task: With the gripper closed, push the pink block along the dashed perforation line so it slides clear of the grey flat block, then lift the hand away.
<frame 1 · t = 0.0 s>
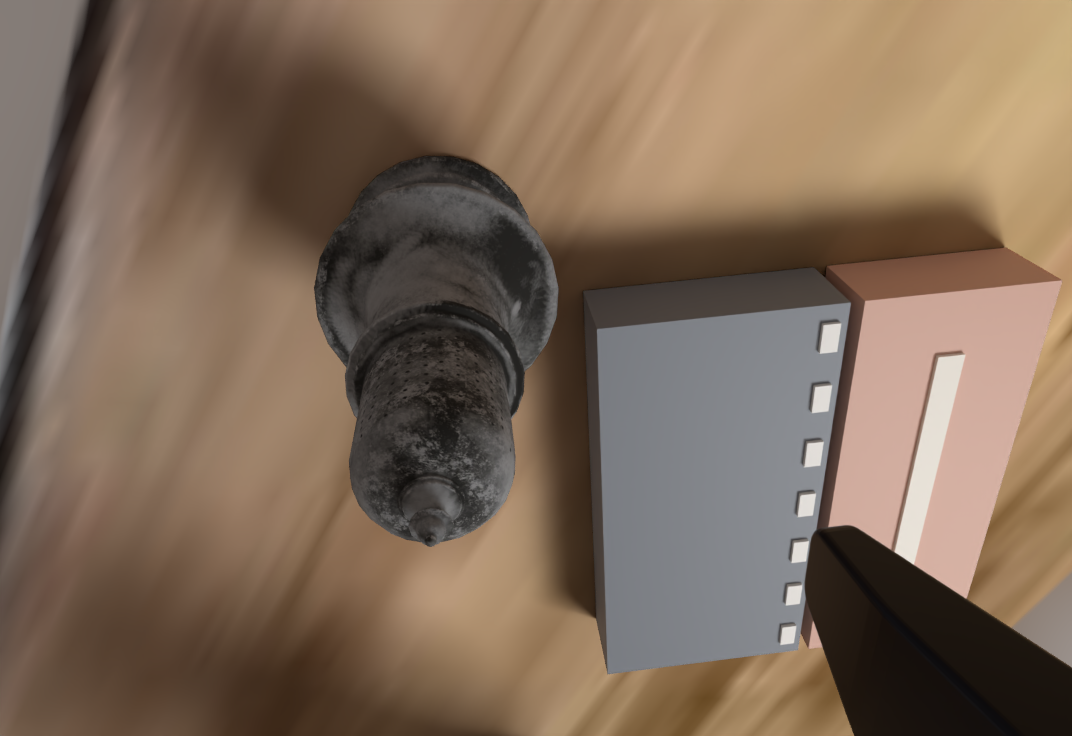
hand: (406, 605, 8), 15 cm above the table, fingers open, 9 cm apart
dark tall tapered piece: (440, 246, 22), on the table
pink block: (899, 467, 26), point 1 cm above the table, slide at 0.0 cm
grey flat block: (691, 465, 27), on the table
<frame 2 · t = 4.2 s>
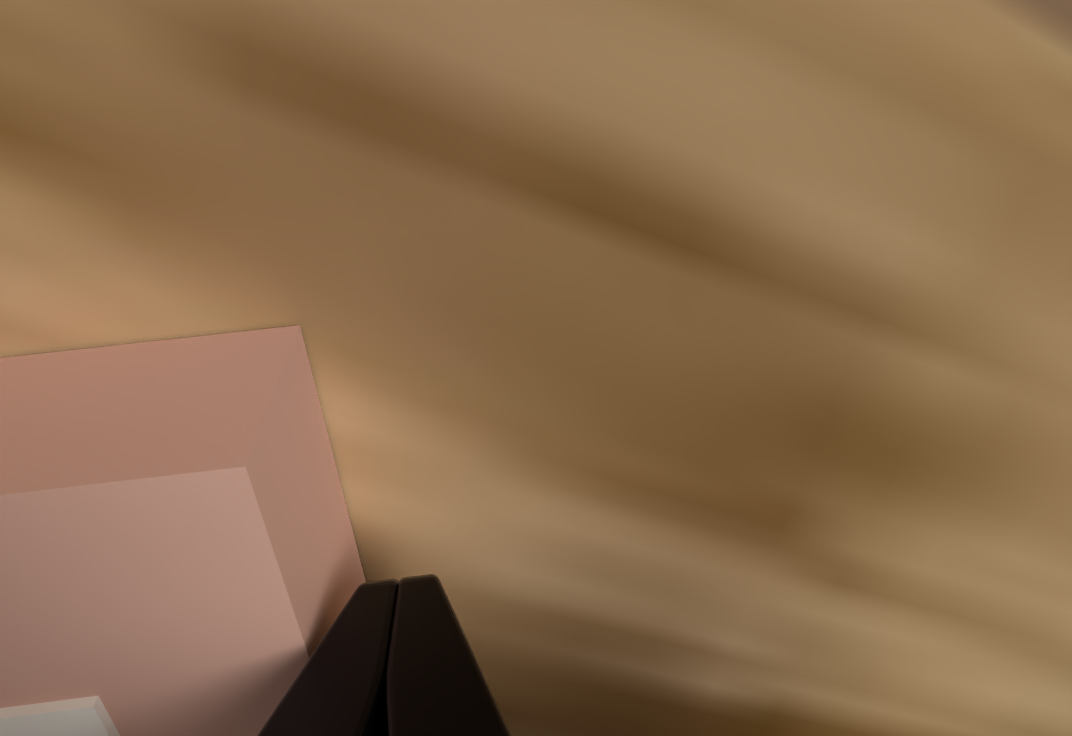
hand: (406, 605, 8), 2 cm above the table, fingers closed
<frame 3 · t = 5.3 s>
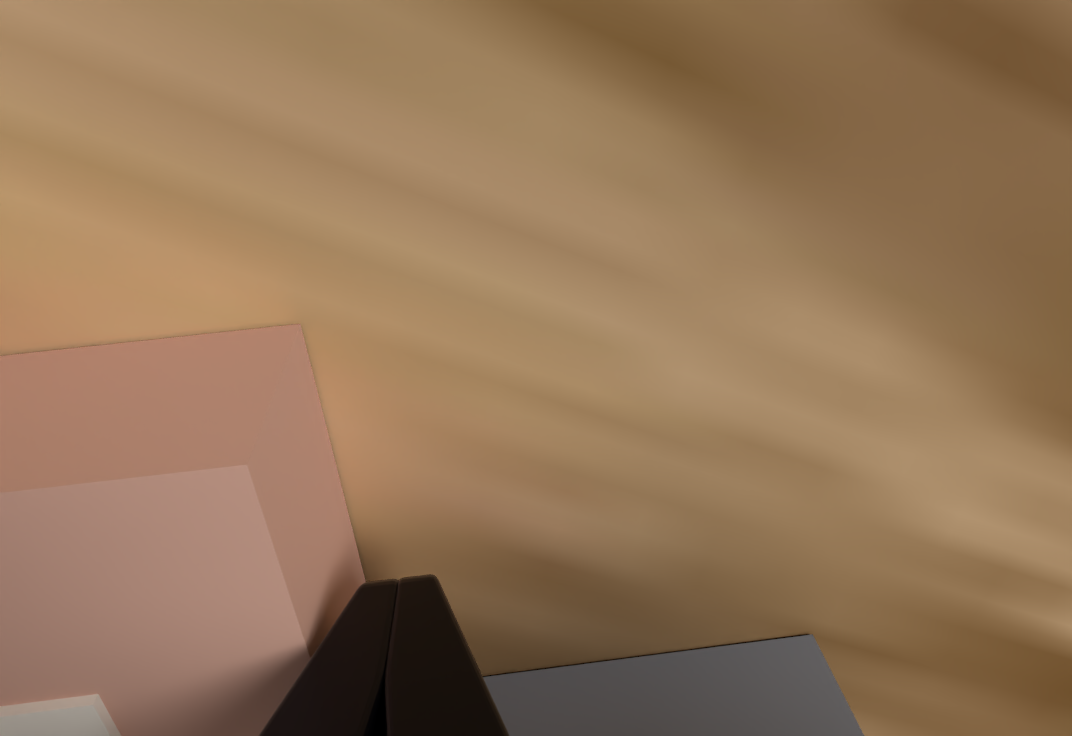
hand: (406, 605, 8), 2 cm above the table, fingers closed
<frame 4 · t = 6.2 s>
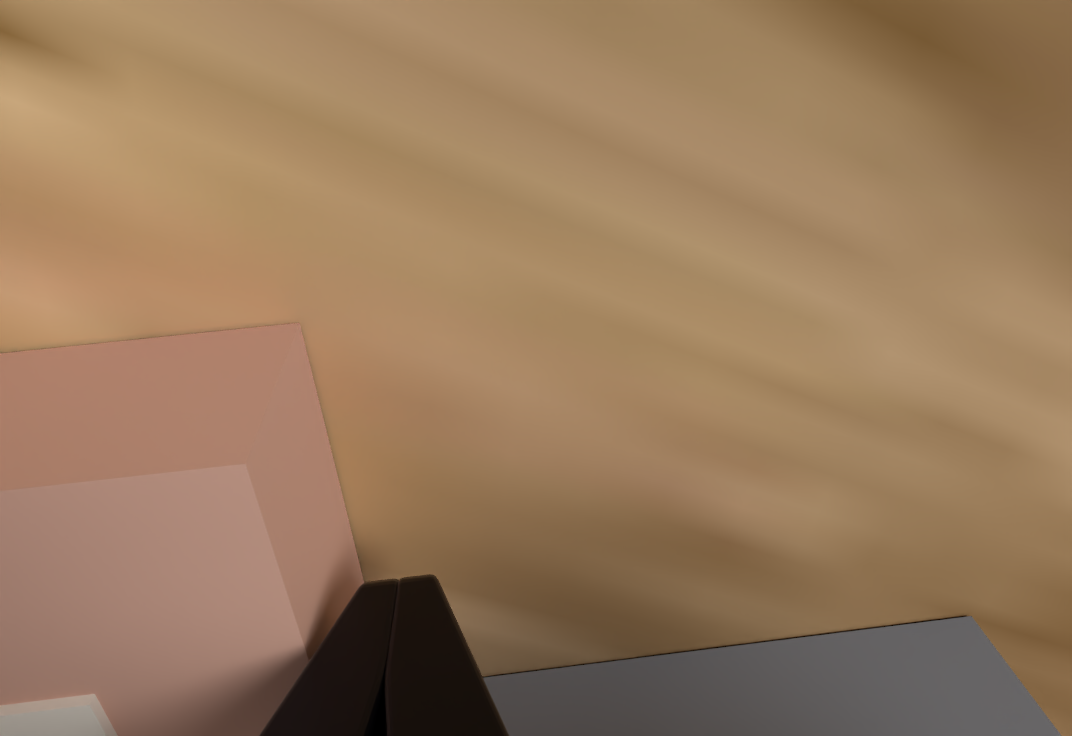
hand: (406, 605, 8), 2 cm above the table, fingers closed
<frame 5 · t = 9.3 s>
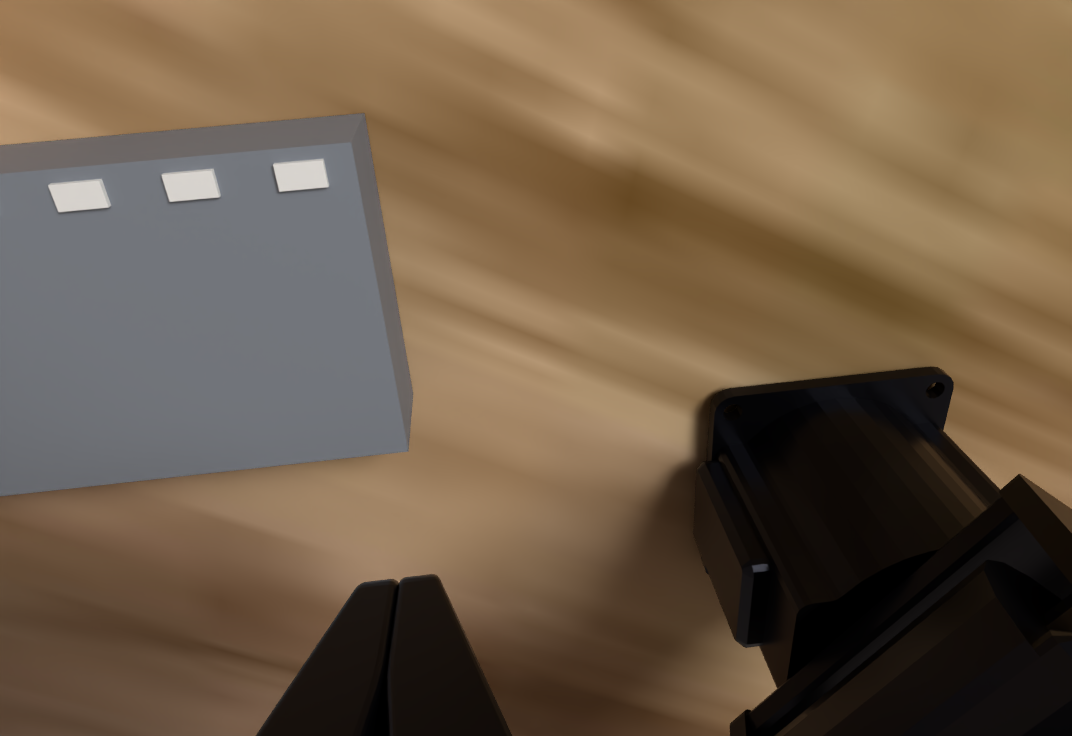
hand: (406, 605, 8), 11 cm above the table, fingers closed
grey flat block: (84, 297, 18), on the table
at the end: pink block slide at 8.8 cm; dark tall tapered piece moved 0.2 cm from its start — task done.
